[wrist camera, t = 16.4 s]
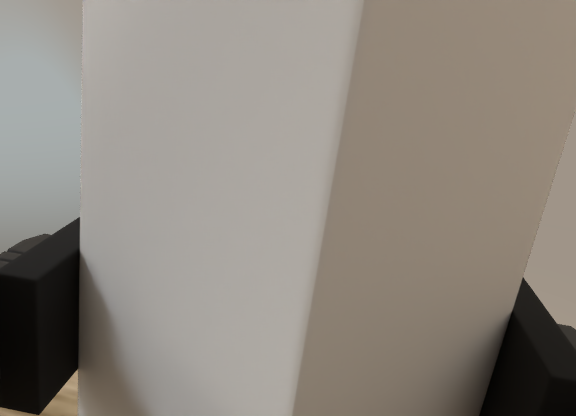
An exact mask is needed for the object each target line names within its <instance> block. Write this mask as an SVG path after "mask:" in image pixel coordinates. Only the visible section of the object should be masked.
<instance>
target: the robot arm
mask: <svg viewBox="0 0 576 416" xmlns="http://www.w3.org/2000/svg"><path fill="white" fill-rule="evenodd" d="M79 270H80V217H79V218H77V219H76V220H74V221H73V222H71V223H70V224H68V225H66V226H65V227H63V228H62V229H60V230H59V231H57V232H56V233H54V234H53V235H49V234H43V235H39V236H36V237H32V238H29V239H26V240H23V241H21V242H19V243H18V244H16V245H14V246H13V247H11V248H9V249H8V251H7V252H3V253H1V254H0V407H2V408H7V409H12V410H17V411H22V412H27V413H32V414H36V415H39V414H40V413H41V412H42V411H43V410H44V409H45V407H46V406H47V405H48V404H49V403H50V401H51V400H52V399H53V398H54V397H55V395H56V394H57V393H58V392H59V391H60V389H61V388H62V387H63V386H64V385H65V383H66V382H67V381H68V380H69V379H70V377H71V376H72V375H73V374H74V373H75V371H76V370H77V369H78V352H79ZM479 416H576V330H575V329H574V328H572V327H571V326H566V325H560V324H557V323H556V322H555V320H554V319H553V318H552V316H551V315H550V314H549V312H548V311H547V310H546V308H545V307H544V305H543V304H542V303H541V301H540V300H539V298H538V297H537V296H536V295H535V293H534V292H533V290H532V289H531V287H530V286H529V285H528V283H527V282H526V281H525V279H524V278H522V281H521V285H520V288H519V291H518V294H517V297H516V300H515V304H514V307H513V310H512V313H511V316H510V319H509V322H508V326H507V329H506V332H505V335H504V338H503V341H502V345H501V348H500V351H499V354H498V357H497V360H496V364H495V367H494V370H493V373H492V376H491V380H490V383H489V386H488V389H487V392H486V395H485V399H484V402H483V405H482V408H481V411H480V414H479Z"/></svg>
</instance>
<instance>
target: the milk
mask: <svg viewBox="0 0 576 416" xmlns="http://www.w3.org/2000/svg"><path fill="white" fill-rule="evenodd" d="M82 25H83V26H82V105H81V107H82V109H81V188H80V189H81V190H80V270H79V352H78V416H479V414H480V411H481V408H482V405H483V402H484V399H485V395H486V392H487V389H488V386H489V383H490V380H491V376H492V373H493V370H494V367H495V364H496V360H497V357H498V354H499V351H500V348H501V345H502V341H503V338H504V335H505V332H506V329H507V326H508V322H509V319H510V316H511V313H512V310H513V307H514V304H515V300H516V297H517V294H518V291H519V288H520V285H521V281H522V278H523V275H524V272H525V268H526V265H527V262H528V259H529V256H530V253H531V249H532V247H533V243H534V240H535V237H536V234H537V230H538V228H539V224H540V221H541V218H542V215H543V212H544V208H545V205H546V202H547V199H548V196H549V192H550V189H551V186H552V183H553V180H554V177H555V174H556V170H557V167H558V164H559V161H560V158H561V155H562V151H563V148H564V145H565V142H566V139H567V136H568V132H569V129H570V126H571V123H572V119H573V117H574V113H575V110H576V0H83V24H82Z"/></svg>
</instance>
